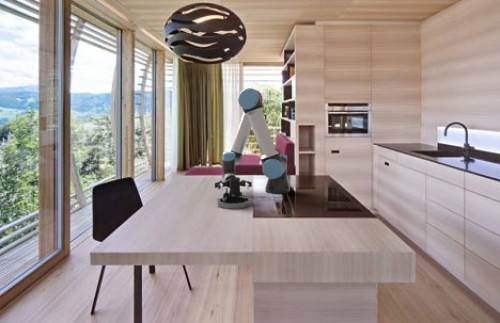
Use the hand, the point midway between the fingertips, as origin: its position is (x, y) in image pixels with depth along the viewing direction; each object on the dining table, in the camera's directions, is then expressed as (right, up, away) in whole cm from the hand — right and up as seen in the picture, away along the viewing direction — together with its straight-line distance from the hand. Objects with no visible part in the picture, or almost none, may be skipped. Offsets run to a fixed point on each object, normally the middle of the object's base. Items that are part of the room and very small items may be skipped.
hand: (235, 187), depth 207 cm
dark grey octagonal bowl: (0, -9, +3) cm, 10 cm away
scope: (-1, -9, +3) cm, 9 cm away
